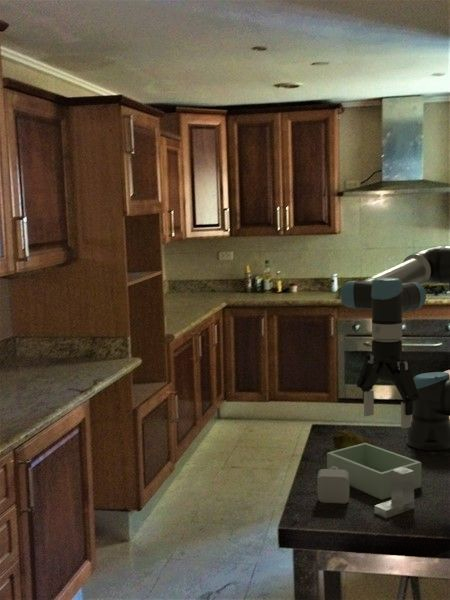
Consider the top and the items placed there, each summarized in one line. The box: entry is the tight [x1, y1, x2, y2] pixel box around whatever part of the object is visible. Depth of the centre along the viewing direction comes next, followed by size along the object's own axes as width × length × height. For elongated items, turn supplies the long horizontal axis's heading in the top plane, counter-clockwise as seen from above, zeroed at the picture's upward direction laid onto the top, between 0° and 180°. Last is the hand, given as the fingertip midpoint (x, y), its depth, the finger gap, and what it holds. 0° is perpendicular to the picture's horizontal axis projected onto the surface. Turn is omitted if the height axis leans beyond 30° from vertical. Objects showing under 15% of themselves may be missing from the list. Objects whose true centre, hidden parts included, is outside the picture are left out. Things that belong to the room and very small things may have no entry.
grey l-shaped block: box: [374, 467, 415, 519], centre depth 185 cm, size 10×4×10 cm, turn 123°
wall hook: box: [316, 466, 350, 504], centre depth 196 cm, size 8×10×10 cm
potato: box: [332, 429, 375, 450], centre depth 228 cm, size 8×13×8 cm, turn 83°
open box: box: [326, 443, 422, 500], centre depth 206 cm, size 15×22×7 cm
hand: (386, 421), depth 187 cm, fingers open, 13 cm apart
